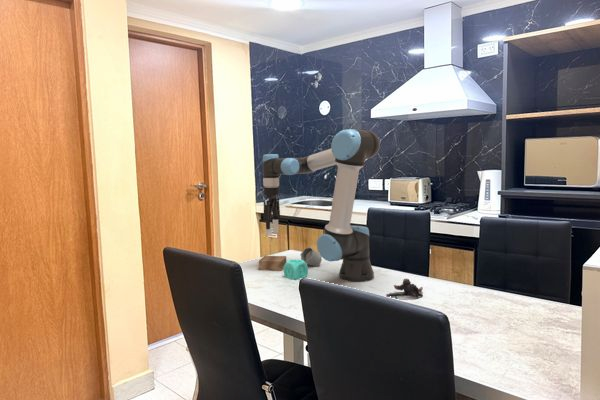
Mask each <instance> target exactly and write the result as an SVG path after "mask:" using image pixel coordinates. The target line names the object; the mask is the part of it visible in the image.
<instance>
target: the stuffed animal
mask: <svg viewBox="0 0 600 400" xmlns="http://www.w3.org/2000/svg"><path fill="white" fill-rule="evenodd" d="M410 280H411V279H409V278H403V281H402V284H400V285H396V284H394V285H393V287H394V289H395V290H396V291H397V292H389V293H386V294H385V296H386V297H387V298H388V297H389V298H391V299H392V298H395V299H394V300H396V299H399V300H398V301H404V300H414V299H415V300H416V299H419V298H422V297H423V296H424V295H423V293H424V292H423V288H424V287H422V286H420V287H418V286H417V285H416V284H414V283H412V282H411V281H410ZM390 296H391V297H390Z"/></svg>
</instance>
